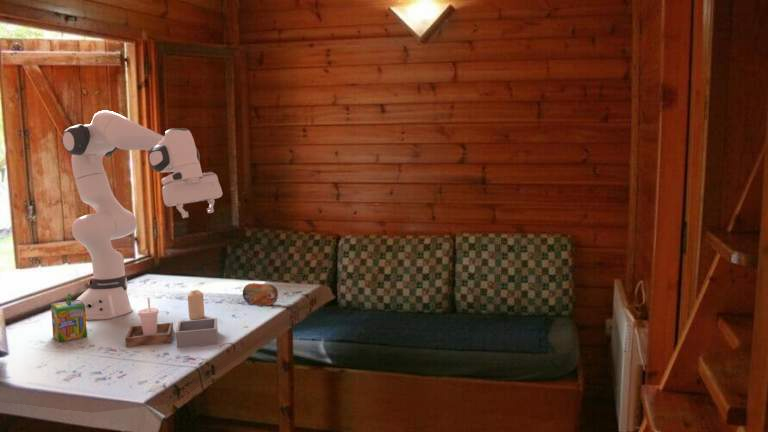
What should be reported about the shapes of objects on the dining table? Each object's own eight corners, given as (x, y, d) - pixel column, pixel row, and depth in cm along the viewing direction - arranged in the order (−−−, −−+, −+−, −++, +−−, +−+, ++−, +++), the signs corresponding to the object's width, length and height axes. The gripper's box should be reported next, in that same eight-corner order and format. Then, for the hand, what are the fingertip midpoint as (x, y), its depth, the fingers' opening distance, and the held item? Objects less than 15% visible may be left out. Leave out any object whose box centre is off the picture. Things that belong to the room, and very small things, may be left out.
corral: (125, 347, 211) (125, 338, 210) (131, 334, 224) (131, 326, 224) (170, 343, 214) (169, 334, 214) (173, 330, 227) (172, 322, 227)
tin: (242, 303, 261) (241, 283, 260) (247, 301, 264) (246, 281, 263) (275, 306, 255) (274, 285, 254) (279, 304, 258) (278, 283, 257)
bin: (176, 347, 209) (175, 332, 208) (179, 335, 221) (178, 321, 221) (217, 343, 212) (216, 328, 211) (217, 332, 224) (216, 318, 224)
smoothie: (148, 343, 215) (145, 301, 213) (136, 340, 218) (132, 299, 216) (164, 337, 220) (161, 296, 218) (152, 334, 223) (149, 294, 221)
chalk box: (52, 336, 224) (48, 294, 222) (81, 331, 230) (77, 289, 228) (58, 343, 217) (54, 299, 215) (88, 337, 223) (84, 294, 221)
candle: (200, 319, 240) (198, 292, 239) (186, 319, 241) (184, 292, 240) (207, 315, 245) (205, 289, 244) (193, 314, 247) (191, 288, 245)
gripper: (211, 173, 229) (220, 211, 229) (156, 180, 215) (166, 221, 215) (220, 169, 225) (230, 208, 225) (164, 176, 210) (175, 218, 210)
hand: (198, 215), depth 220 cm, fingers open, 8 cm apart
